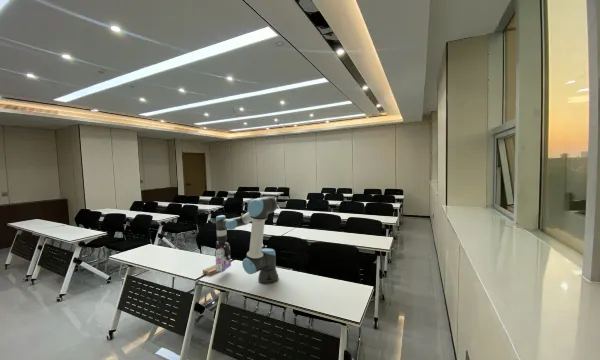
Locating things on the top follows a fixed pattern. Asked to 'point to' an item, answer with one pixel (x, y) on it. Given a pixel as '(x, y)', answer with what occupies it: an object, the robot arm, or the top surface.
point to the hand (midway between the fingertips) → (223, 263)
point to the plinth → (210, 270)
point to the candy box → (221, 260)
